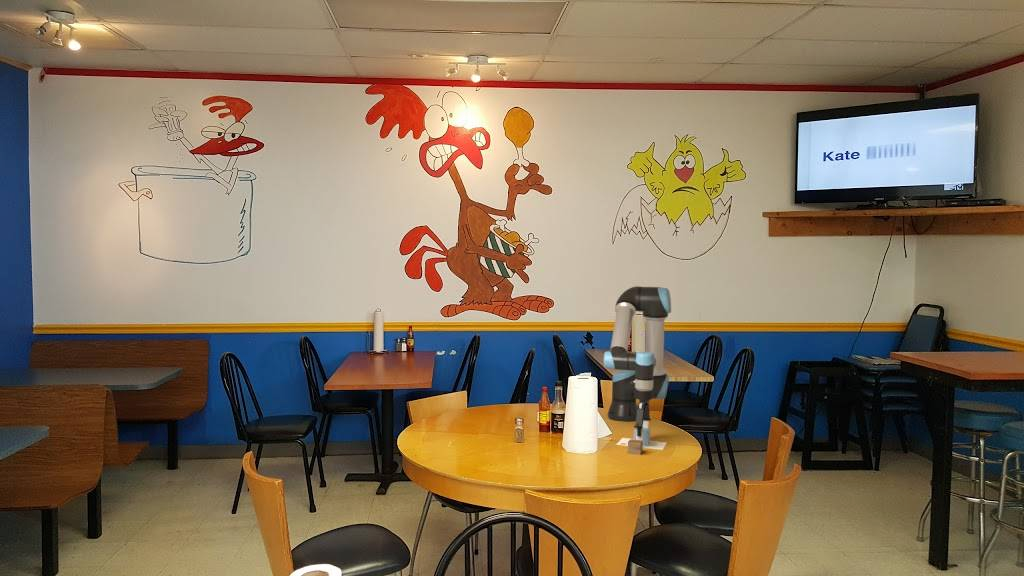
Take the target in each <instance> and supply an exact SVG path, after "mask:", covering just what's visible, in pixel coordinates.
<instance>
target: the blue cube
mask: <svg viewBox="0 0 1024 576" xmlns="http://www.w3.org/2000/svg"><path fill="white" fill-rule="evenodd" d="M651 430H652V429H651V428H649V427H648V428H643V446H648V445H649V444H650V441H651V433H652V432H651ZM632 439H634V440H636V428H634V429H633V438H632Z"/></svg>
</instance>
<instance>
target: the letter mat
mask: <svg viewBox="0 0 1024 576" xmlns="http://www.w3.org/2000/svg"><path fill="white" fill-rule="evenodd" d="M630 439H631V438H627V437H622V438H620V440H619V441H618V442H616V446H617V445H618V446H625V447H626V446H627V447H628V441H629V440H630ZM666 445H667V442H663V441H657V440H656V441H655V440H650V444H649V445H648V446H643V449H652V450H660V451H662V450H664V448H665V447H666Z"/></svg>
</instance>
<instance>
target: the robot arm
mask: <svg viewBox="0 0 1024 576" xmlns="http://www.w3.org/2000/svg"><path fill="white" fill-rule="evenodd" d="M671 300H672V299H671V294H670V290H669V289H668V288H666V287H661V286H638V285H636V286H632V287H629V288H628V289H626V290H625V291H623V292H622V294H620V295H619V297H618V299H617V301H616V303H615V308H614V311H615V319H614V325H613V326H614V327H613V332H612V338H611V343H610V349H609V350H608V351H604V353H603V367H604V368H605V369H608V370H613V371H614V372H613V374H612V380H611V381H612V384H611V385H612V388H611V390H612V391H611V403H610V406H609V408H608V411H607V418H608V417H609V418H608V419H610V420H613V421H618V422H619V421H620V422H635V425H634V426H633V427H634V429H635V428H636V440H643V428H649V424H650V423H649V422H650V421H651V418H650V401H651V400H663V399H665V398H666V397H667V392H668V386H669V380H670V375H669V374H667V370H666V369H665V368H664V350H665V349H664V348H665V320H666V319H667V318H668V317H669V314H670V313H672V301H671ZM636 312H642V317H643V318H644V319H645V337H644V338H645V343H644V345H645V348H644V349H645V350H644V351H638V352H635V353H634V352H628V350H629V344H630V338H631V332H632V330H631V329H632V325H633V317H634V316H635V315H636ZM637 400H639V401H638V403H637Z"/></svg>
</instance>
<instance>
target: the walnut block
mask: <svg viewBox="0 0 1024 576" xmlns="http://www.w3.org/2000/svg"><path fill="white" fill-rule="evenodd" d="M643 450H644V448H643V440H634V439H633V438H630V440H629V441H628V446H627V454H628V455H629V454H630V455H638V456H640V455H641V454H642V453H643Z"/></svg>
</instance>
